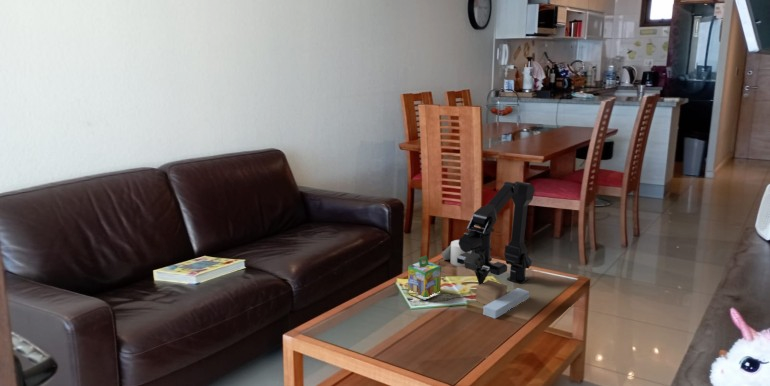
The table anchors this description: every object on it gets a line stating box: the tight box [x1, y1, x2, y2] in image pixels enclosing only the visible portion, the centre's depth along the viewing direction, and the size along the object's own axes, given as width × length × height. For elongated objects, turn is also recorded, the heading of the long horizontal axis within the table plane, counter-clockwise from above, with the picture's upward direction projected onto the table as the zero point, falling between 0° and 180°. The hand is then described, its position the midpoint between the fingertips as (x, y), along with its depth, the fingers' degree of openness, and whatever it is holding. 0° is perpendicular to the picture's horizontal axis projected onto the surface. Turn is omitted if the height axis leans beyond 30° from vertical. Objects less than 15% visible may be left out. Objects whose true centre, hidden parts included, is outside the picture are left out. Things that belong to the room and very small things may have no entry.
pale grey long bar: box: [482, 287, 530, 319], centre depth 226 cm, size 22×5×3 cm, turn 136°
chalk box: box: [407, 255, 442, 297], centre depth 235 cm, size 9×9×15 cm
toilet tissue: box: [441, 239, 472, 267], centre depth 268 cm, size 9×13×9 cm
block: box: [475, 279, 508, 306], centre depth 230 cm, size 8×8×6 cm
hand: (480, 284), depth 233 cm, fingers closed
